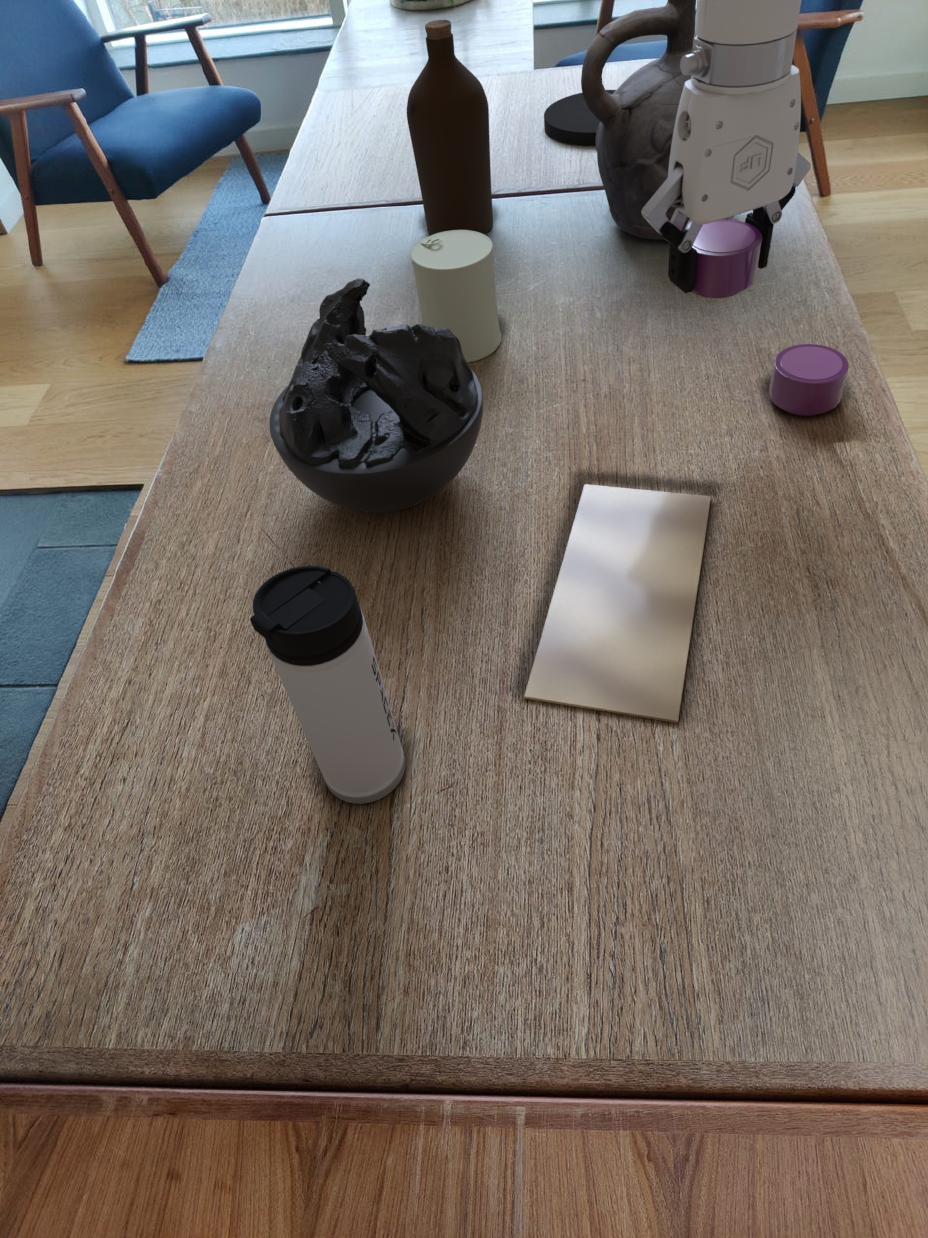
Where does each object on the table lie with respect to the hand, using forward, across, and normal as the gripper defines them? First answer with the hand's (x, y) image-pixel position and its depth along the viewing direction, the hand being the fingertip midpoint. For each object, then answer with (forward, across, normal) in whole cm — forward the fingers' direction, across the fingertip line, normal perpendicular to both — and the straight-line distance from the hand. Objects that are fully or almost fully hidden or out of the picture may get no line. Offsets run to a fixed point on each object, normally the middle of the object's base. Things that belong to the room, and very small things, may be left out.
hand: (717, 272), depth 82 cm
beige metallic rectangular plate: (+15, -20, -19) cm, 31 cm away
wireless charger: (+15, +28, +74) cm, 80 cm away
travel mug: (+15, -47, -26) cm, 55 cm away
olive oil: (+15, -5, +53) cm, 56 cm away
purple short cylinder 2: (+15, +9, -4) cm, 18 cm away
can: (+15, -17, +25) cm, 34 cm away
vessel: (+15, +18, +38) cm, 45 cm away
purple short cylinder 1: (+1, 0, 0) cm, 1 cm away
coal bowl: (+15, -33, +5) cm, 37 cm away
